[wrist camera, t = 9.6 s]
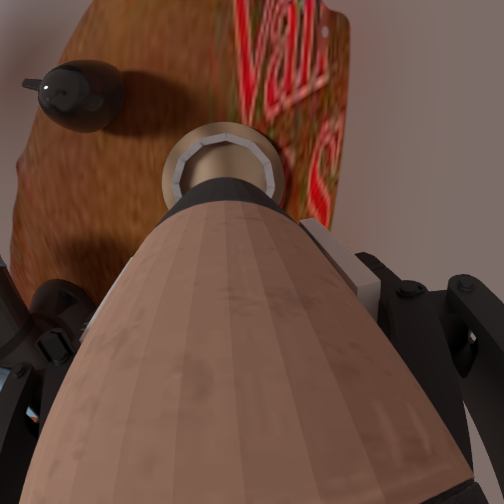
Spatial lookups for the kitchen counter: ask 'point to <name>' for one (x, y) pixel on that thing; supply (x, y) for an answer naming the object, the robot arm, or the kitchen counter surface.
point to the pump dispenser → (80, 94)
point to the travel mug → (240, 379)
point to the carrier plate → (222, 160)
